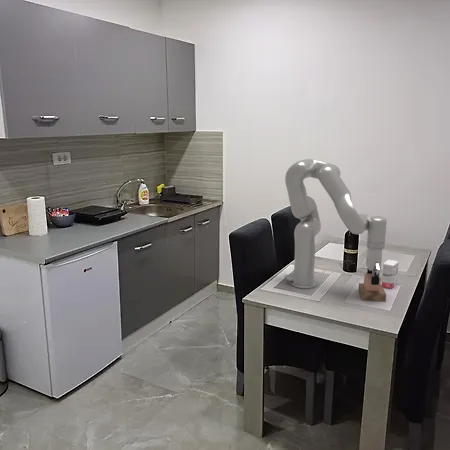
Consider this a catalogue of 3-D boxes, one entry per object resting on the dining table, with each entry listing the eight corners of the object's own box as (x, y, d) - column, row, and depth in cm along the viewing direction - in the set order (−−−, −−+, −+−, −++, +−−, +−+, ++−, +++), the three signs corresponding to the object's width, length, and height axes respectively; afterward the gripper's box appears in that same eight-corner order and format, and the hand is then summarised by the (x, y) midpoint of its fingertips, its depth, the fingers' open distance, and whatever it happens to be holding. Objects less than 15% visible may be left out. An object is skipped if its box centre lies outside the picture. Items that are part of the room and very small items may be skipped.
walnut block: (361, 301, 197) (362, 292, 196) (358, 291, 208) (358, 283, 207) (385, 302, 195) (386, 294, 194) (380, 292, 207) (381, 284, 206)
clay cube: (366, 290, 198) (367, 278, 197) (363, 285, 204) (364, 273, 203) (379, 291, 198) (381, 278, 196) (376, 286, 204) (378, 273, 202)
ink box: (391, 289, 209) (393, 265, 206) (380, 287, 212) (382, 263, 209) (397, 284, 216) (399, 261, 213) (386, 281, 219) (389, 259, 216)
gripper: (363, 238, 205) (360, 273, 209) (370, 249, 188) (367, 287, 192) (380, 239, 204) (377, 274, 208) (389, 250, 187) (385, 288, 191)
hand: (372, 280), depth 200 cm, fingers open, 9 cm apart
